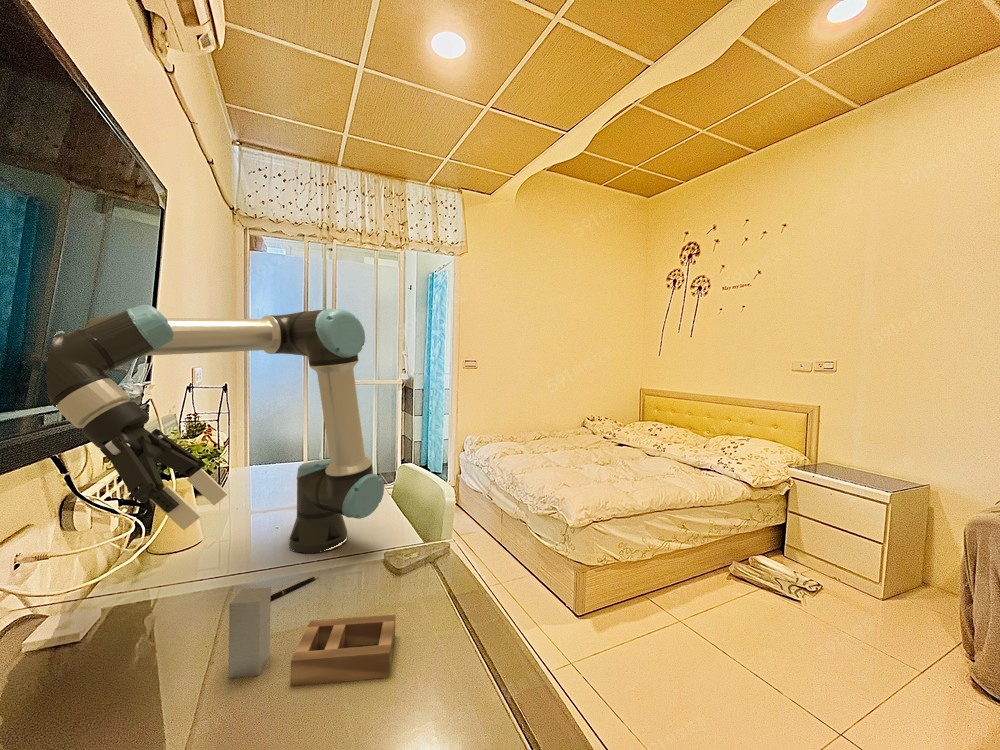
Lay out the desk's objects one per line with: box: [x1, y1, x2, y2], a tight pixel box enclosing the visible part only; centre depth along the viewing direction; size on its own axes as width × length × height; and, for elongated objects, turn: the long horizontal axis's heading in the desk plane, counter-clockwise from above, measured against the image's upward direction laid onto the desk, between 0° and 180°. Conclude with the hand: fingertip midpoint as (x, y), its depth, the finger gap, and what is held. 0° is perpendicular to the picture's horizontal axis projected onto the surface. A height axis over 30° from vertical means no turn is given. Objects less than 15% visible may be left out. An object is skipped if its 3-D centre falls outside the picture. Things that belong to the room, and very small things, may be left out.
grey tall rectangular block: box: [227, 586, 272, 679], centre depth 69 cm, size 4×4×12 cm
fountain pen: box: [270, 575, 320, 602], centre depth 93 cm, size 14×1×2 cm, turn 149°
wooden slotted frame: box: [289, 614, 396, 687], centre depth 71 cm, size 10×15×4 cm
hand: (208, 510), depth 69 cm, fingers open, 13 cm apart
